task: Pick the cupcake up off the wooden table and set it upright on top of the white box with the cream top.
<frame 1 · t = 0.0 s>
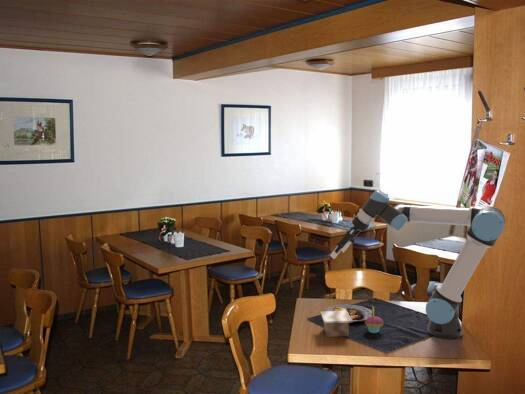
hand: (337, 253, 247), 36 cm above the table, tool tilted 35°, fingers open, 13 cm apart
food plate: (348, 316, 266), on the table
white box: (336, 332, 245), on the table
cupcake: (374, 331, 246), on the table
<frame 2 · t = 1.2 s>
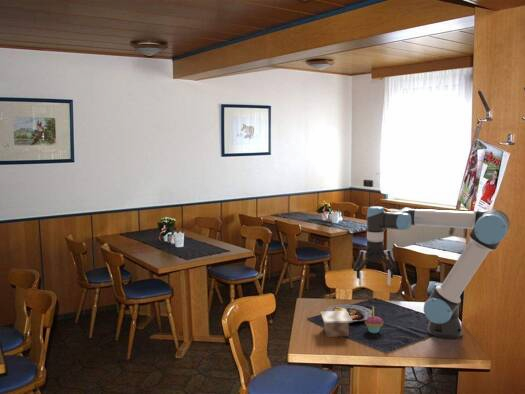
hand: (374, 284, 243), 22 cm above the table, tool pointing down, fingers open, 13 cm apart
nothing on the table moved.
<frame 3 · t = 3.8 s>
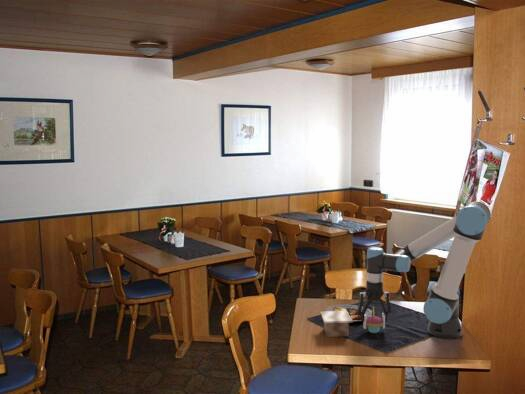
hand: (374, 327, 245), 2 cm above the table, tool pointing down, fingers closed on cupcake, 8 cm apart
cupcake: (374, 331, 246), on the table, touching gripper
everything else where it was.
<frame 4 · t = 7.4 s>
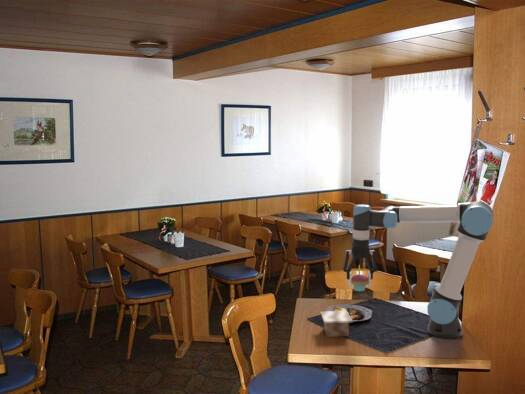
hand: (359, 286, 243), 22 cm above the table, tool pointing down, fingers closed on cupcake, 8 cm apart
cupcake: (359, 290, 243), point 20 cm above the table, touching gripper
everything else where it was.
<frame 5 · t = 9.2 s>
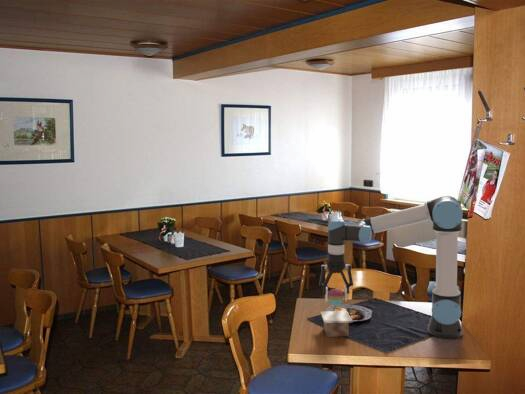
hand: (335, 300, 243), 15 cm above the table, tool pointing down, fingers closed on cupcake, 8 cm apart
cupcake: (336, 304, 243), point 13 cm above the table, touching gripper
everything else where it was.
when the fingers open (11 cm above the table, at t = 10.8 s): cupcake drops 1 cm, resting on white box.
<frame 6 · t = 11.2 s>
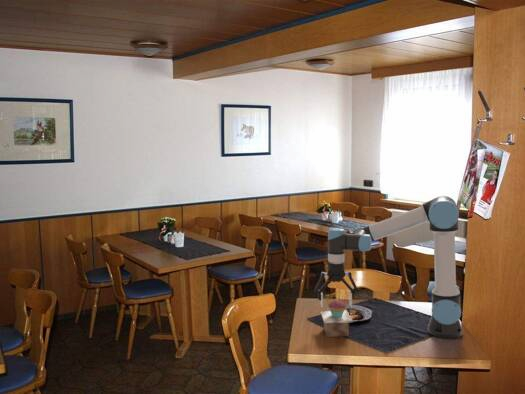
hand: (336, 306, 243), 13 cm above the table, tool pointing down, fingers open, 13 cm apart
cupcake: (337, 316, 244), point 8 cm above the table, touching white box
everything else where it was.
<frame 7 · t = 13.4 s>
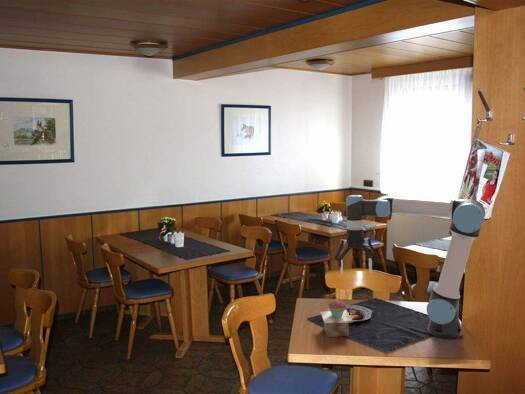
hand: (356, 273, 243), 28 cm above the table, tool pointing down, fingers open, 13 cm apart
nothing on the table moved.
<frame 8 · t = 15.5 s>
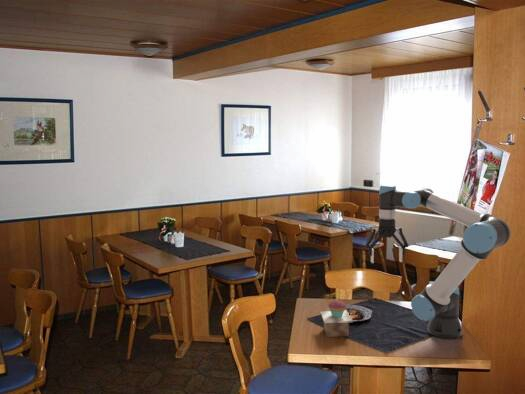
hand: (386, 262, 248), 32 cm above the table, tool pointing down, fingers open, 13 cm apart
nothing on the table moved.
at the end: cupcake inside the target area on the white box (0.6 cm from its centre), point 7.8 cm above the white box's base; cupcake tilted 0°; the gripper is holding nothing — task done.
